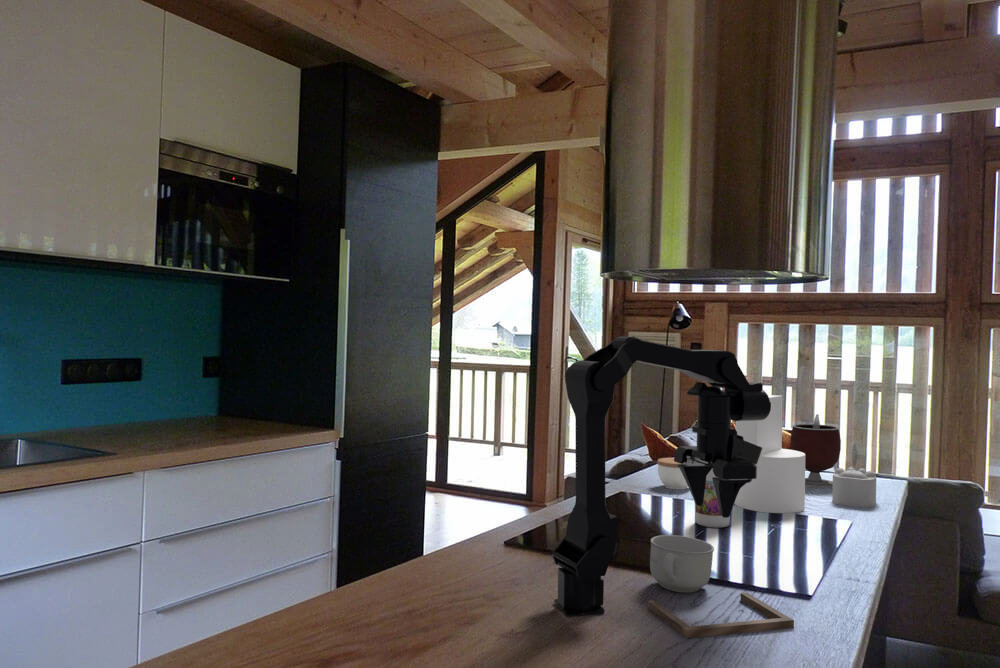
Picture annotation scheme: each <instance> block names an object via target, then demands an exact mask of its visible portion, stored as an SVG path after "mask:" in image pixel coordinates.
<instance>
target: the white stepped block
mask: <svg viewBox="0 0 1000 668" xmlns="http://www.w3.org/2000/svg"><path fill="white" fill-rule="evenodd" d="M767 395H768V397H769V400H770V402H771V410H770V413H769V415H768V417H767V418H766V419H764V420H754V421H735V429H736V431H737V435H740V436H743V439H744V441H747V442H749V443H752V444H754V445H757V446H759V447H762V451H761V454H760V457H759V460H758V463H757V465H756V464H755V465H756V467H757V478H756V479H752V481H751V482H750V483H746V484H745V485H744V486H742V487H741V488H740V490H739V492H738V494H737V497H736V500H735V502H734V505H735V506H736V507H739V508H741V509H745V510H749V511H755V512H762V513H768V514H769V513H770V514H772V513H773V514H793V513H799V512H803V511H804V510H805V507H806V504H805V503H806V498H805V497H806V487H805V478H806V469H805V453H803V452H799V451H795V450H791V449H788V448H783V395H777V394H776V395H775V394H767Z"/></svg>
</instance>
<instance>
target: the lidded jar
mask: <svg viewBox="0 0 1000 668" xmlns="http://www.w3.org/2000/svg"><path fill="white" fill-rule="evenodd" d="M677 464H680V463H677V462H675V461H674V457H662V458H658V459H657V472H658V473H657V475H658V477H659V480H660V481H661V483H662V484H663V485H664V487H665V488H666V489H669V490H675V491H676V490H678V491H679V490H681V491H682V490H686V489H688V488H689V487H688V485H687V483H686V481H685V478H684V476H683V474H682V472H681V470H680V468H679V467H678V465H677Z"/></svg>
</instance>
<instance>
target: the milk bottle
mask: <svg viewBox="0 0 1000 668" xmlns="http://www.w3.org/2000/svg"><path fill="white" fill-rule="evenodd" d="M712 477H716V476H715V475H714V473H713V468H712V469H711V471H710V472H709V473H708V474H707V476H706V484H705V493H704V500H703V505H702V506H697V505H696V504H695V522H696V524H697V525H699V526H701V527H706V528H707V527H708V528H716V529H717V528H727V527H729V526H730V524H731V523H730V522H731V515H730V516H729V517H728V518H724V517H722V514H721V511H720V507H719V503H718V499H717V495H716V491H715V488H714V483H713V479H712Z"/></svg>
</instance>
